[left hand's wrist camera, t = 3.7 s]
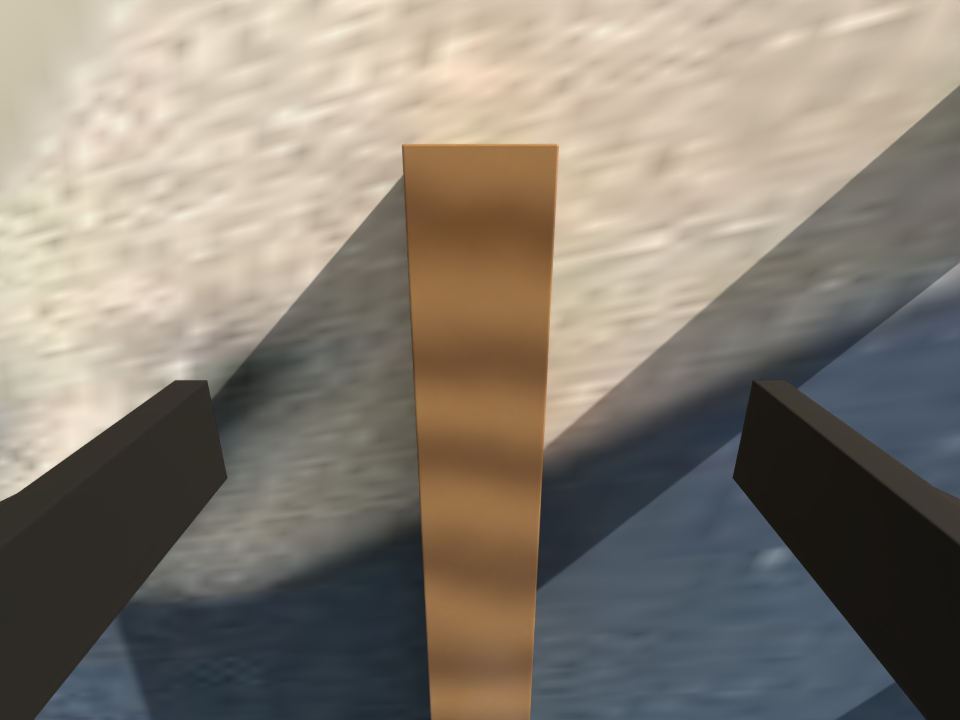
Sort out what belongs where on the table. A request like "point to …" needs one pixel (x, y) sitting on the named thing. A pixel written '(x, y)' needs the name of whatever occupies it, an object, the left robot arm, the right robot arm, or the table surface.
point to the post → (480, 410)
